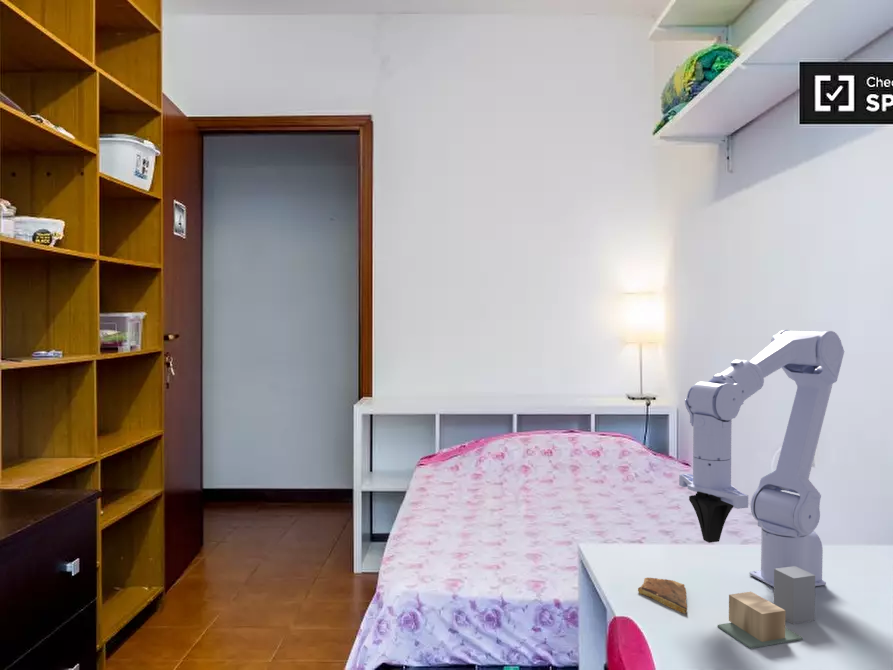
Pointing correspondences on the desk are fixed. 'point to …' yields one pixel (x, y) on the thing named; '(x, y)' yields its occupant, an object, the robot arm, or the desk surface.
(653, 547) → the desk surface
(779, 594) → the grey block
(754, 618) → the oak block
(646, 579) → the shard
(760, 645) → the mat
